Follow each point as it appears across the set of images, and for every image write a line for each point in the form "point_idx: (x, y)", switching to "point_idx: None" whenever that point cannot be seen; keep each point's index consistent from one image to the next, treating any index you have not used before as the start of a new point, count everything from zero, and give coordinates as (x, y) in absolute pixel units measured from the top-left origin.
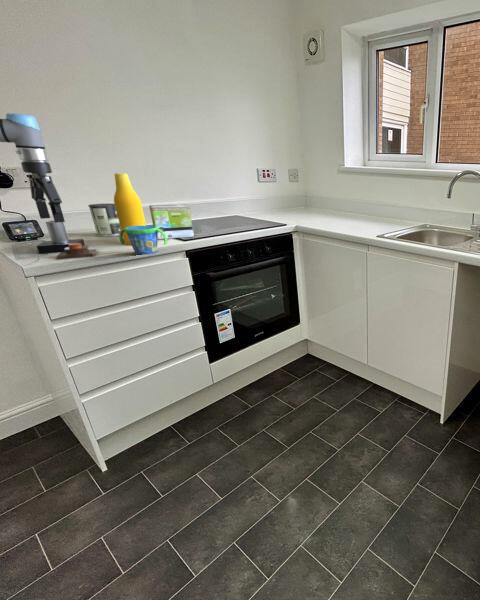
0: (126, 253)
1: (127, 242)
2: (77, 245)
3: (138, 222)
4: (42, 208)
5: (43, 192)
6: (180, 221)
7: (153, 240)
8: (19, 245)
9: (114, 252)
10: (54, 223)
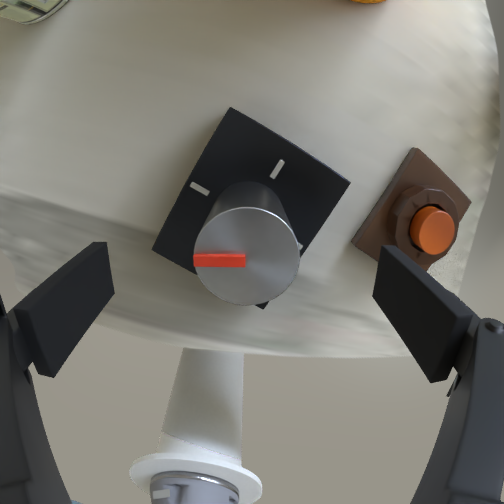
0: (497, 113)
1: (376, 1)
2: (452, 231)
3: None
4: (75, 310)
5: (16, 408)
6: None
7: None
8: (43, 277)
9: (462, 120)
10: (293, 272)
